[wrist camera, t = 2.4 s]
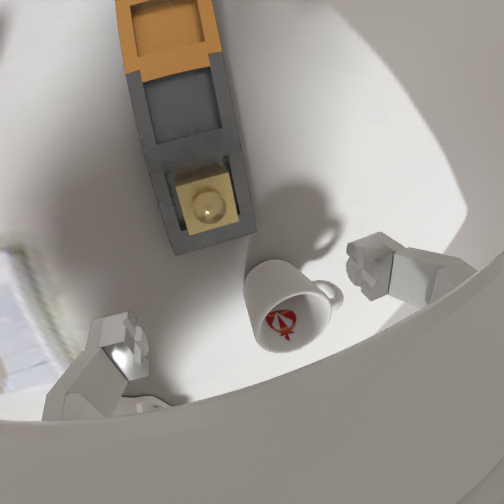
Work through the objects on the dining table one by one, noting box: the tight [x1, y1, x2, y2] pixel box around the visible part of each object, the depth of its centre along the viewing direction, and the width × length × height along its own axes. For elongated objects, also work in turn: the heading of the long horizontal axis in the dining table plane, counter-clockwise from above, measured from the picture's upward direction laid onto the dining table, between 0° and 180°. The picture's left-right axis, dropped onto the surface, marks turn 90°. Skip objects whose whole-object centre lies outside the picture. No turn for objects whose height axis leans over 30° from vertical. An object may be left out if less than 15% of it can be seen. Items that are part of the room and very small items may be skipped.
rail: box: [115, 0, 257, 256], centre depth 20 cm, size 26×8×2 cm, turn 10°
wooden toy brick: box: [175, 163, 239, 235], centre depth 22 cm, size 4×4×6 cm
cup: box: [243, 259, 343, 353], centre depth 29 cm, size 11×8×8 cm
